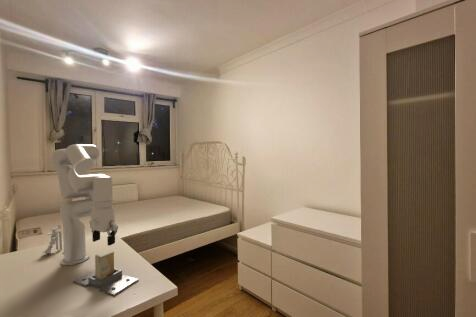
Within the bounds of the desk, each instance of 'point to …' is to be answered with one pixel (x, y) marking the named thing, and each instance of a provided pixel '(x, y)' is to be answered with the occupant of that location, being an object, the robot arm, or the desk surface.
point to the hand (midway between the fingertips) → (103, 242)
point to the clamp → (54, 234)
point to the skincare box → (104, 264)
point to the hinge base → (107, 282)
